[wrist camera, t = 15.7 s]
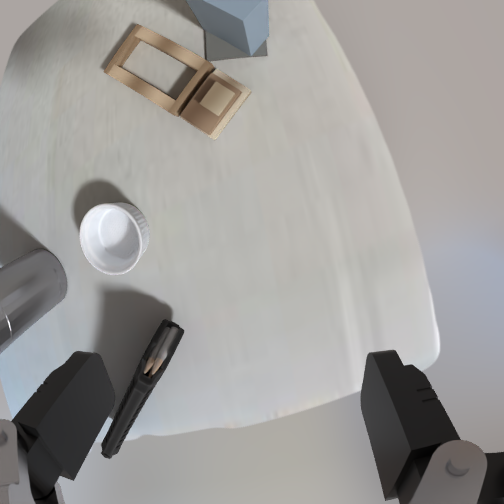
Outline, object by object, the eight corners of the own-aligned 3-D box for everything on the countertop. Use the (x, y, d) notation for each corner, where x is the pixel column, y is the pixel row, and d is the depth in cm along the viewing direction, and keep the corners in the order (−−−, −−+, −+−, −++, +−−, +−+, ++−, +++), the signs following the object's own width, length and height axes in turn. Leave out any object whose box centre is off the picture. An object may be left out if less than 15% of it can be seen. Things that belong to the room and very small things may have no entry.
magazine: (111, 465, 44) (137, 431, 27) (95, 457, 43) (109, 415, 27) (143, 397, 58) (190, 321, 41) (129, 389, 57) (169, 308, 41)
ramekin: (99, 191, 38) (82, 196, 34) (159, 206, 38) (146, 213, 34) (92, 253, 41) (77, 264, 36) (149, 271, 41) (136, 284, 37)
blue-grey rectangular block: (268, 35, 30) (267, -6, 20) (251, 56, 31) (243, 20, 21) (221, 9, 30) (203, -35, 19) (203, 29, 31) (179, -10, 20)
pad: (207, 61, 32) (206, 60, 32) (205, 13, 30) (204, 12, 30) (267, 55, 32) (267, 54, 31) (262, 7, 30) (262, 6, 29)
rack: (252, 91, 33) (250, 85, 30) (214, 141, 35) (208, 139, 32) (143, 28, 31) (132, 19, 27) (110, 74, 33) (97, 69, 29)
